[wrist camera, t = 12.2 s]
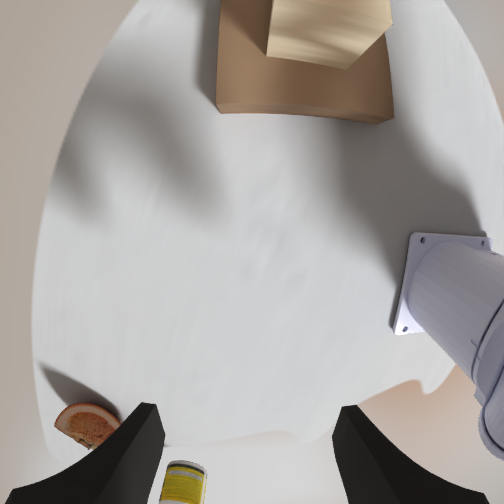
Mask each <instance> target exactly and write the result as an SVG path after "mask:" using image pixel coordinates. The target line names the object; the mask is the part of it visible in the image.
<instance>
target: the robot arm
mask: <svg viewBox="0 0 504 504" xmlns="http://www.w3.org/2000/svg"><path fill="white" fill-rule="evenodd" d="M422 237H423V241H422V242H420V240H421V238H422ZM481 242H482V243H481ZM491 248H492V239H491V238H489V237H479V236H466V235H452V234H437V233H421V232H415V233H413V234H412V235H411V236H410V241H409V249H408V255H407V262H406V268H405V274H404V279H403V285H402V290H401V295H400V300H399V304H398V309H397V313H396V317H395V321H394V325H393V332H394V333H395V334H396V335H402V334H410V333H418V332H425V331H426V332H427V333H428V334H429V335H430V336H431V337H432V339H433V340H434V341H435V342H436V343H437V344H438V345H439V346H440V347H441V348H442V349H443V350H444V351H445V352H446V353H447V354H448V355H449V356H450V357H451V358H452V359H453V361H454V362H455V363H456V364H457V365H458V366H459V367H460V368H461V369H462V370H463V371H464V373H465V374H466V375H467V376H468V377H469V378H470V379H471V380H472V381H473V383H474V384H475V385H476V391H475V394H474V397H475V398H476V399H477V400H478V402H479V403H480V404H481V405H482V409H481V411H480V415H479V421H478V427H479V433H480V437H481V439H482V441H483V443H484V445H485V446H486V448H487V449H488V450H489V451H490V452H491V453H492V454H493V455H494V456H496V457H497V458H499V459H501V460H503V461H504V256H503V255H500V254H498V253H496V252H493V251H491ZM405 326H406V327H405ZM404 327H405V328H404ZM403 328H404V329H403ZM402 329H403V330H402ZM164 440H165V432H164V429H163V426H162V422H161V419H160V416H159V413H158V409H157V406H156V404H150V403H144V402H142V403H140V404H139V405H138V406H137V408H136V409H135V410H134V411H133V412H132V413H131V414H130V415H129V416H128V417H127V419H126V420H125V421H124V422H123V423H122V424H121V425H120V426H119V427H118V428H117V429H116V430H115V431H114V432H113V433H112V434H111V435H110V436H109V437H108V438H107V439H106V440H105V441H103V442H102V443H101V444H100V445H99V446H98V447H97V448H95V449H94V450H93V451H92V452H90V453H89V454H88V455H87V456H85V457H84V458H82V459H81V460H80V461H78V462H77V463H75V464H73V465H72V466H70V467H68V468H67V469H65V470H64V471H61V472H60V473H58V474H56V475H54V476H51V477H49V478H47V479H44V480H42V481H40V482H37V483H34V484H30V485H27V486H23V487H19V488H15V489H13V490H12V491H11V493H10V495H9V497H8V499H7V501H6V503H5V504H147V501H148V497H149V494H150V491H151V487H152V484H153V481H154V478H155V475H156V472H157V469H158V466H159V462H160V459H161V456H162V451H163V446H164ZM332 441H333V447H334V453H335V458H336V462H337V465H338V468H339V472H340V475H341V478H342V481H343V485H344V488H345V491H346V494H347V498H348V502H349V504H489V502H488V500H487V498H486V496H485V495H484V493H481V492H477V491H473V490H470V489H466V488H463V487H460V486H458V485H455V484H453V483H450V482H448V481H446V480H444V479H442V478H440V477H438V476H436V475H434V474H432V473H430V472H429V471H427V470H425V469H424V468H423V467H421V466H420V465H418V464H417V463H415V462H414V461H413V460H411V459H410V458H409V457H408V456H406V455H405V454H404V453H403V452H402V451H400V450H399V449H398V448H397V447H396V446H395V445H394V444H393V443H392V442H390V440H388V439H387V437H386V436H384V435H383V433H382V432H381V431H379V429H378V428H377V427H376V426H375V425H374V424H373V423H372V422H371V421H370V420H369V418H368V417H367V416H366V415H365V414H364V413H363V412H362V410H361V409H360V408H359V407H358V406H357V405H351V406H344V407H342V408H341V411H340V414H339V417H338V420H337V423H336V426H335V429H334V432H333V435H332Z"/></svg>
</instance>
